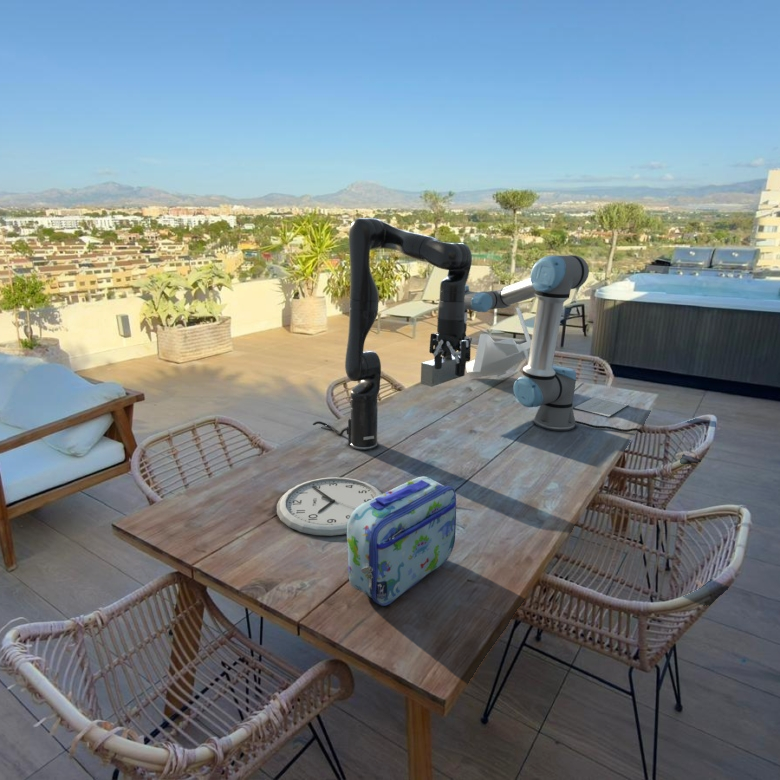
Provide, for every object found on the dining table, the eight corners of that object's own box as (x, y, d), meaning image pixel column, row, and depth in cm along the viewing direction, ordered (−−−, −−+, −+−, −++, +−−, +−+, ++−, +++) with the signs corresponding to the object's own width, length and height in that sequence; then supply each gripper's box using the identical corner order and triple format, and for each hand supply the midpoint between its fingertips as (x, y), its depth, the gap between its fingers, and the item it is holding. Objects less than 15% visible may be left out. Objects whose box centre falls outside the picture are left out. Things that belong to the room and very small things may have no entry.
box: (453, 373, 232) (454, 353, 229) (464, 375, 228) (465, 355, 225) (420, 383, 215) (421, 362, 212) (431, 386, 211) (432, 365, 209)
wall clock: (392, 527, 129) (268, 531, 127) (391, 533, 130) (269, 537, 127) (383, 473, 158) (282, 475, 155) (383, 478, 158) (282, 480, 156)
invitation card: (608, 416, 214) (573, 407, 224) (608, 416, 214) (573, 408, 224) (628, 404, 229) (594, 396, 238) (628, 405, 229) (594, 397, 238)
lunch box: (376, 619, 101) (377, 524, 95) (340, 592, 109) (339, 502, 102) (459, 562, 119) (465, 479, 113) (424, 542, 126) (427, 463, 120)
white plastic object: (486, 419, 265) (465, 396, 240) (467, 347, 287) (447, 319, 262) (557, 395, 253) (543, 369, 228) (532, 321, 275) (517, 290, 250)
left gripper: (424, 314, 150) (422, 368, 155) (459, 321, 140) (456, 379, 145) (443, 312, 155) (440, 365, 160) (479, 319, 144) (475, 375, 149)
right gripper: (434, 319, 224) (432, 372, 231) (471, 325, 212) (468, 380, 219) (445, 317, 229) (442, 368, 236) (481, 323, 217) (478, 377, 224)
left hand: (448, 372), depth 152 cm, fingers open, 8 cm apart
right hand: (454, 374), depth 228 cm, fingers closed on box, 6 cm apart
